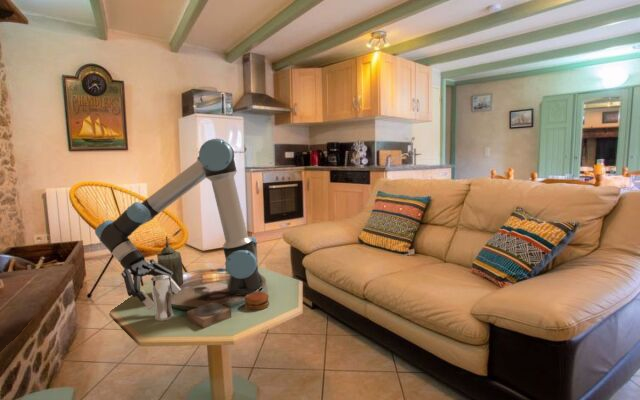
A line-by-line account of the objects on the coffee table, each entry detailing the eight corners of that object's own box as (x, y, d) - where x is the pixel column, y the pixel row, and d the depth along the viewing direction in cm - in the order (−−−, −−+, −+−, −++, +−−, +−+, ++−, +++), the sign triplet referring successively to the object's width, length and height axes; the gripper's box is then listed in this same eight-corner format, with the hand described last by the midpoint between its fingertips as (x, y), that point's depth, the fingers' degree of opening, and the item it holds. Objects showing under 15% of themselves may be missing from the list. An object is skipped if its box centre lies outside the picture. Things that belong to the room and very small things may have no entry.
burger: (271, 308, 136) (270, 296, 136) (246, 312, 133) (245, 300, 133) (266, 299, 145) (266, 288, 145) (243, 302, 142) (242, 291, 142)
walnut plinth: (214, 309, 137) (214, 300, 136) (231, 317, 129) (230, 308, 129) (187, 319, 128) (186, 310, 128) (203, 328, 121) (202, 319, 121)
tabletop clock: (160, 290, 159) (155, 234, 156) (182, 286, 163) (177, 232, 160) (160, 301, 146) (155, 241, 143) (184, 297, 150) (180, 238, 147)
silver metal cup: (162, 323, 126) (158, 281, 124) (149, 319, 130) (146, 279, 128) (178, 315, 132) (175, 275, 130) (166, 311, 136) (163, 273, 134)
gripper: (149, 254, 145) (182, 292, 142) (93, 273, 121) (133, 320, 119) (158, 241, 143) (193, 280, 140) (104, 258, 119) (145, 306, 117)
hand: (166, 299), depth 129 cm, fingers open, 13 cm apart
